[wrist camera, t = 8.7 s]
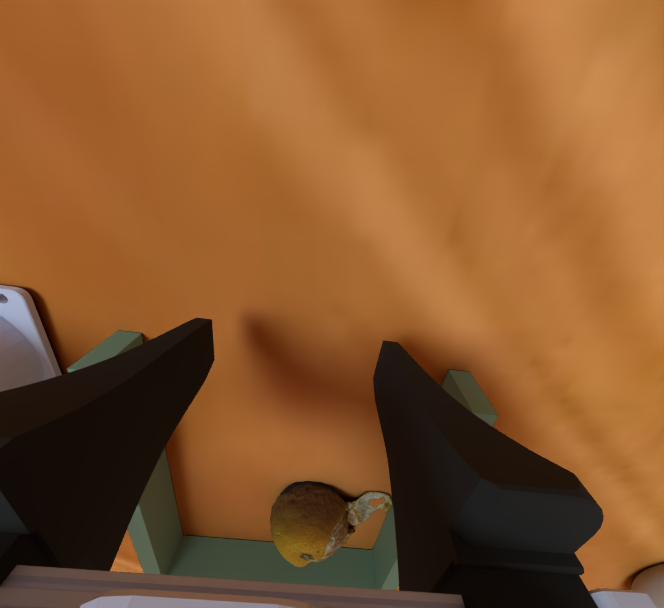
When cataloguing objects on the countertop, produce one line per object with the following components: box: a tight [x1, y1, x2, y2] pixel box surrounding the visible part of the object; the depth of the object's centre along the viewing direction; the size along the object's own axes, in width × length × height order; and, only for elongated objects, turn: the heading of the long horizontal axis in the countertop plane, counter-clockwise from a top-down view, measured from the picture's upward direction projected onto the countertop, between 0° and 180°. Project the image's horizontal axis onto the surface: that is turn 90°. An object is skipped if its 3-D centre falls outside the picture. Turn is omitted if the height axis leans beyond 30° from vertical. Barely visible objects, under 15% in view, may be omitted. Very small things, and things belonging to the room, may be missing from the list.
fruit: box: [270, 481, 392, 567], centre depth 20 cm, size 8×8×4 cm
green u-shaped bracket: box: [67, 331, 498, 590], centre depth 18 cm, size 19×22×3 cm
